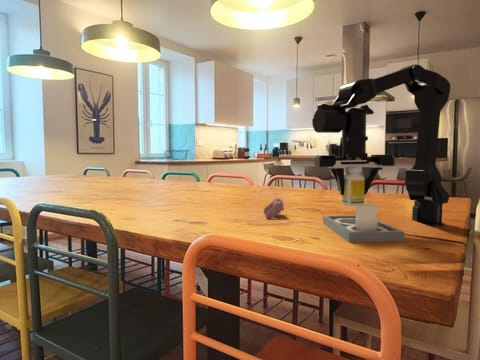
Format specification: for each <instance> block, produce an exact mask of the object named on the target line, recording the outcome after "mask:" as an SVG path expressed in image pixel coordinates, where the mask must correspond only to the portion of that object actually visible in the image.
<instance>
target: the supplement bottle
mask: <svg viewBox="0 0 480 360" xmlns="http://www.w3.org/2000/svg"><path fill="white" fill-rule="evenodd" d="M362 167H363V166H346V167H345V168H344V173H345V174H344V194H343V195H341V203H342V205H343V206H348V207H356V204H365V195H364V188H365V178H364V174H363V173H362V172H363V168H362Z"/></svg>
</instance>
